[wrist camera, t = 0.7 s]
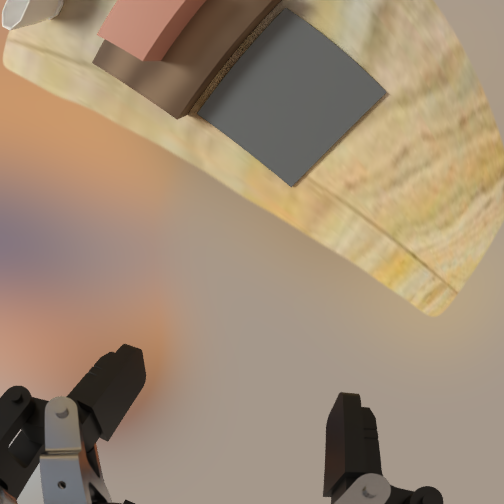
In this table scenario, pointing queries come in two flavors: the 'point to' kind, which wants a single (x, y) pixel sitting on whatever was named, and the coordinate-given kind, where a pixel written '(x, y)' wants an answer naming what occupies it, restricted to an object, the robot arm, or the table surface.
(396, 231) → the table surface
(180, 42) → the platform
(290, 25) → the mat
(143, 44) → the block
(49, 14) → the cup
